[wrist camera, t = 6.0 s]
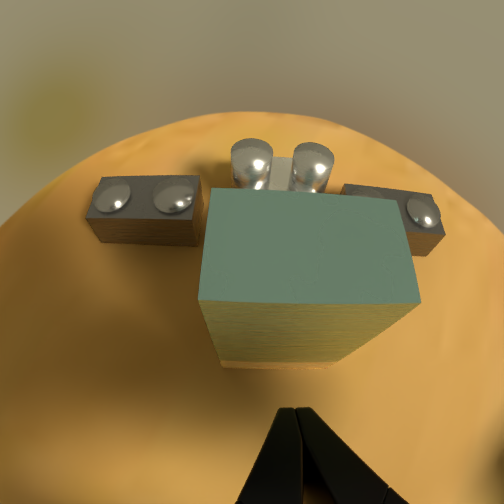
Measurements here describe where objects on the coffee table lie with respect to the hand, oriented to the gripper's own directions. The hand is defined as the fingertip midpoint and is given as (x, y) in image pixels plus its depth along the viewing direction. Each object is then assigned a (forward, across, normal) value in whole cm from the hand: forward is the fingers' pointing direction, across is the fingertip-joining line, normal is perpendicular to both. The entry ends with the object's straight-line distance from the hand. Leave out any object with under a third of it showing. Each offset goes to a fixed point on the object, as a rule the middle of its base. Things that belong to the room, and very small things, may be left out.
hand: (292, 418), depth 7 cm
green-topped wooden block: (+10, 0, -1) cm, 11 cm away
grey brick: (+12, 0, -3) cm, 12 cm away
